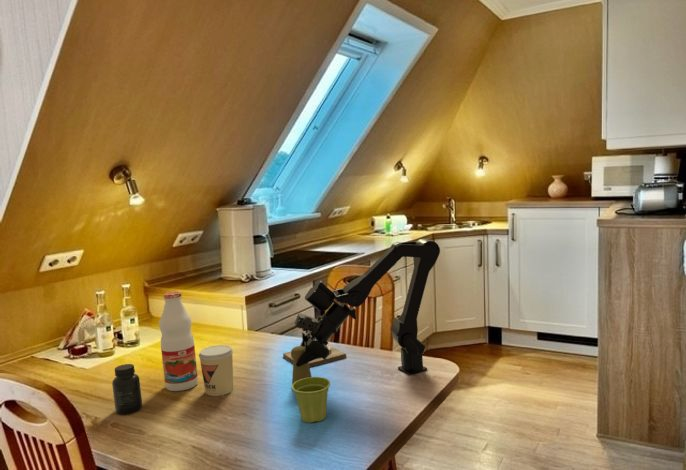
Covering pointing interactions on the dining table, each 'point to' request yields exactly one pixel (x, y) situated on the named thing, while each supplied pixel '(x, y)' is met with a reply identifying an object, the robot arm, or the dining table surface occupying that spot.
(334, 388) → the dining table surface
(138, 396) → the supplement bottle
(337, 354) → the ring board
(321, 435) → the dining table surface
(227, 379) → the white canister
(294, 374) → the olive brown pestle
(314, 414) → the plant pot
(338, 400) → the dining table surface
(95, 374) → the dining table surface
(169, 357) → the fruit juice
